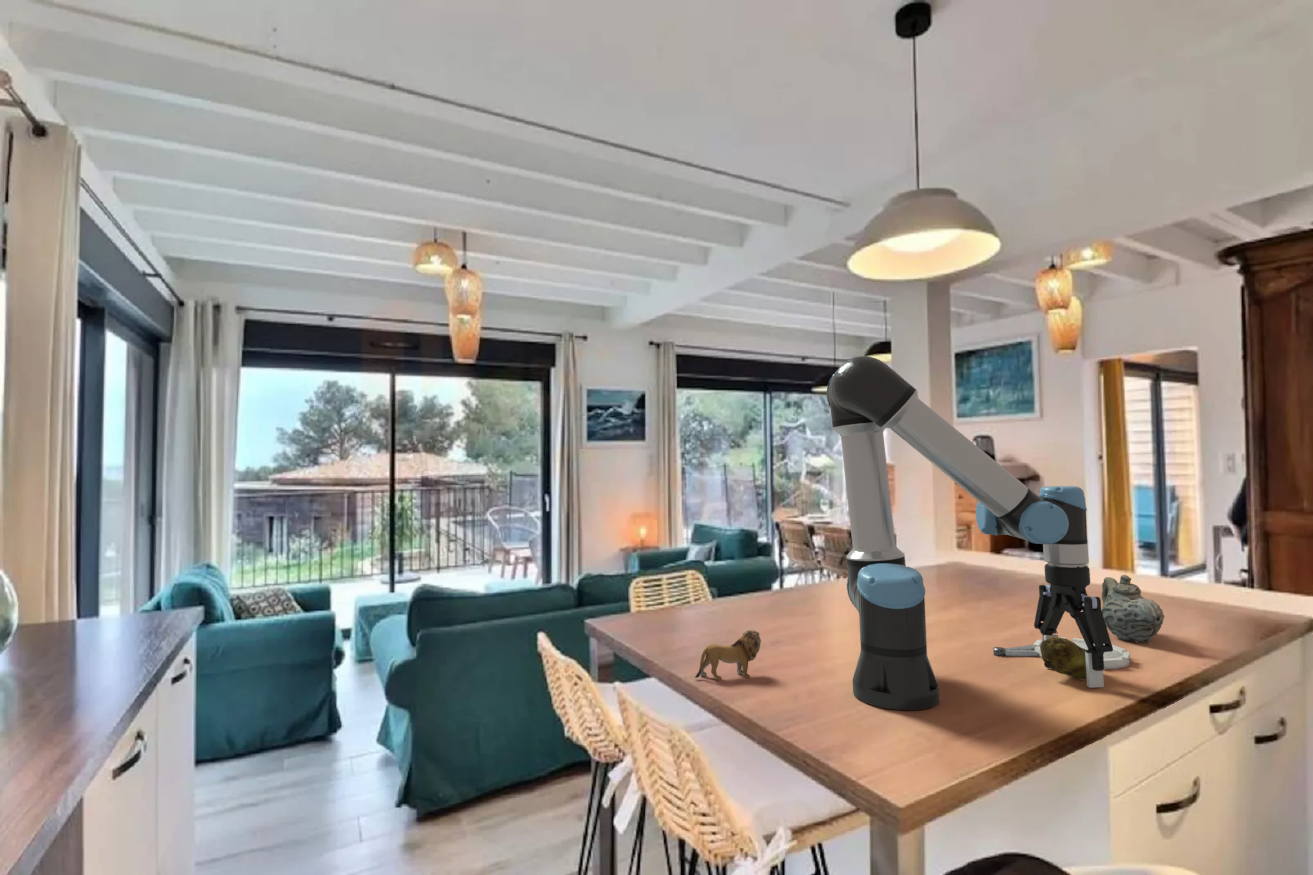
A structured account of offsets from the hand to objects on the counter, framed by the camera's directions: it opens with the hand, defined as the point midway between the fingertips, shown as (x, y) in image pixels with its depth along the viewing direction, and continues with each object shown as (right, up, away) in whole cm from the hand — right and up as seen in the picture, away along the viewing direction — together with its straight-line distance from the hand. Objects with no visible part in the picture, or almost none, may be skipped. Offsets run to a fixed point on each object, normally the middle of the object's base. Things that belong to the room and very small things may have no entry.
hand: (1073, 676), depth 124 cm
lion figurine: (-67, -3, +7) cm, 67 cm away
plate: (+10, 0, +13) cm, 16 cm away
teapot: (+30, -1, +25) cm, 39 cm away
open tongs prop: (+1, -1, +16) cm, 16 cm away
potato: (0, 0, 0) cm, 0 cm away
